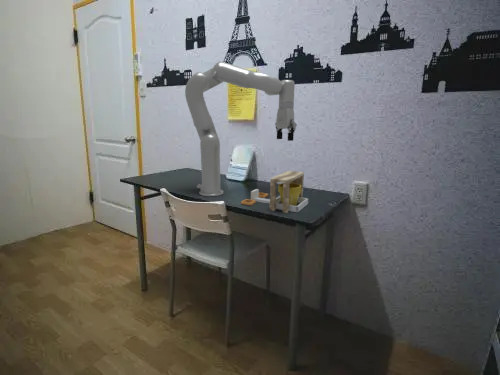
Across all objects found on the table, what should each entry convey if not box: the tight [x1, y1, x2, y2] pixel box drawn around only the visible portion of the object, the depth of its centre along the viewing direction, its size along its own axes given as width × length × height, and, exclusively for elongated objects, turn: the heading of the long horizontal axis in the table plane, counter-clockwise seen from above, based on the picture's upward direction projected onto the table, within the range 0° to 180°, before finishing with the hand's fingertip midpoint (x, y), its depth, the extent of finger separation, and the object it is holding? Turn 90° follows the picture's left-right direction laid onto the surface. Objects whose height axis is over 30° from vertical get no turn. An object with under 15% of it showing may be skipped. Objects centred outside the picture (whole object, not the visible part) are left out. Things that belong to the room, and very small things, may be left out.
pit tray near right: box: [240, 198, 257, 207], centre depth 140 cm, size 5×5×2 cm
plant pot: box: [277, 183, 301, 206], centre depth 137 cm, size 10×10×10 cm
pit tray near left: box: [259, 191, 269, 199], centre depth 152 cm, size 5×5×2 cm
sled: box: [250, 188, 309, 213], centre depth 140 cm, size 25×15×5 cm, turn 62°
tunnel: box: [269, 170, 305, 214], centre depth 137 cm, size 8×21×14 cm, turn 152°
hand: (284, 139), depth 156 cm, fingers open, 9 cm apart
